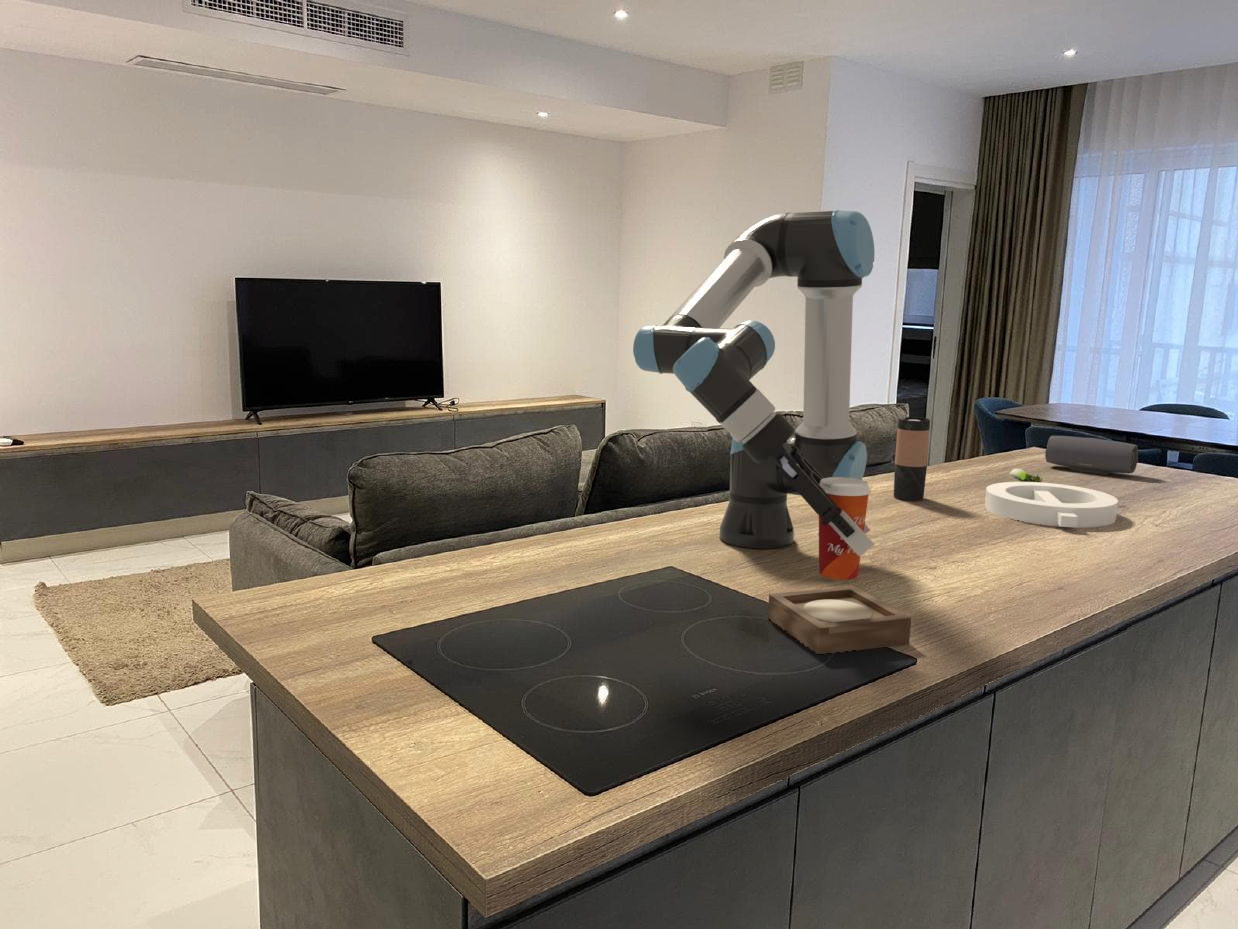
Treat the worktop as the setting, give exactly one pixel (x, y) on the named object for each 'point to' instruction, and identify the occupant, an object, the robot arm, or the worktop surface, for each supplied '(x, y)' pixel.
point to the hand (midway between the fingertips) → (864, 542)
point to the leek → (1024, 475)
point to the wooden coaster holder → (839, 619)
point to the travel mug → (911, 458)
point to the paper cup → (833, 550)
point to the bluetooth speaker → (1092, 454)
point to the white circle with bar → (1051, 504)
